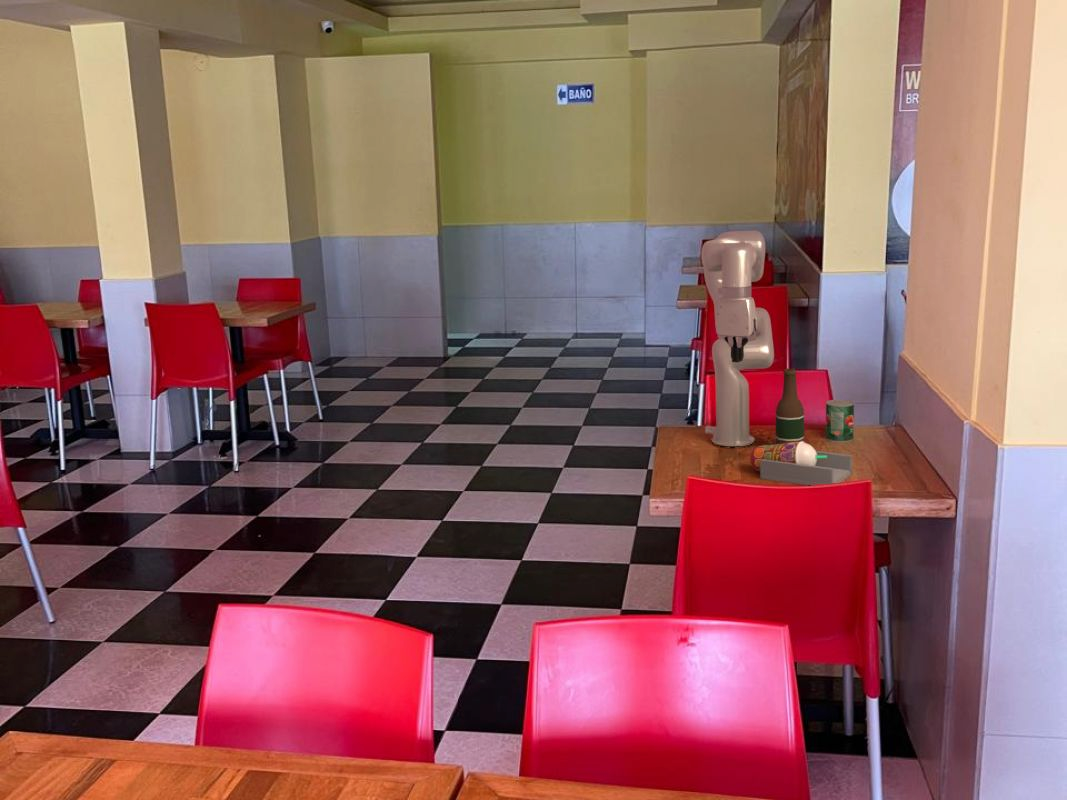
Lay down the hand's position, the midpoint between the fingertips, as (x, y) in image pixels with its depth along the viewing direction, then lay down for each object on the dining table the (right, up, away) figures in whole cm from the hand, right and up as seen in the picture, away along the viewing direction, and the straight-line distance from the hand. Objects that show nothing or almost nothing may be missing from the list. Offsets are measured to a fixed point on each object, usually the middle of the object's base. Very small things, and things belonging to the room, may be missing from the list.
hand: (737, 361), depth 269 cm
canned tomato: (+36, -22, +27) cm, 50 cm away
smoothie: (+5, -26, 0) cm, 26 cm away
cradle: (+17, -30, -6) cm, 35 cm away
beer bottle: (+18, -25, +16) cm, 35 cm away
